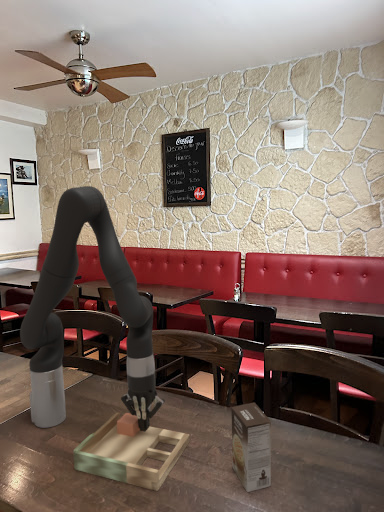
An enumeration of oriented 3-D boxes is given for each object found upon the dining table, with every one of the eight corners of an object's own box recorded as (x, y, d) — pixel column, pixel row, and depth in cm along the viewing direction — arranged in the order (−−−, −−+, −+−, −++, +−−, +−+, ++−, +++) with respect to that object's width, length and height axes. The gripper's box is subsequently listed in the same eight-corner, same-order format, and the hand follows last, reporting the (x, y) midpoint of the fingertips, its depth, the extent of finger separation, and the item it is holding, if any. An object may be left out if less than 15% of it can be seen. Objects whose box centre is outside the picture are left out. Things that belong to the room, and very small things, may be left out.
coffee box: (231, 467, 95) (230, 405, 93) (254, 462, 97) (254, 401, 95) (246, 493, 86) (246, 426, 84) (272, 486, 88) (272, 420, 86)
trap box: (74, 469, 96) (73, 450, 95) (117, 426, 114) (116, 410, 114) (157, 491, 88) (156, 470, 87) (189, 441, 106) (189, 423, 105)
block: (117, 433, 107) (116, 421, 107) (126, 424, 112) (126, 412, 111) (133, 436, 105) (132, 424, 105) (142, 427, 110) (141, 415, 110)
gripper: (112, 372, 104) (116, 433, 106) (156, 378, 99) (159, 441, 101) (126, 362, 111) (130, 418, 113) (168, 367, 106) (171, 426, 108)
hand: (144, 429), depth 107 cm, fingers closed
